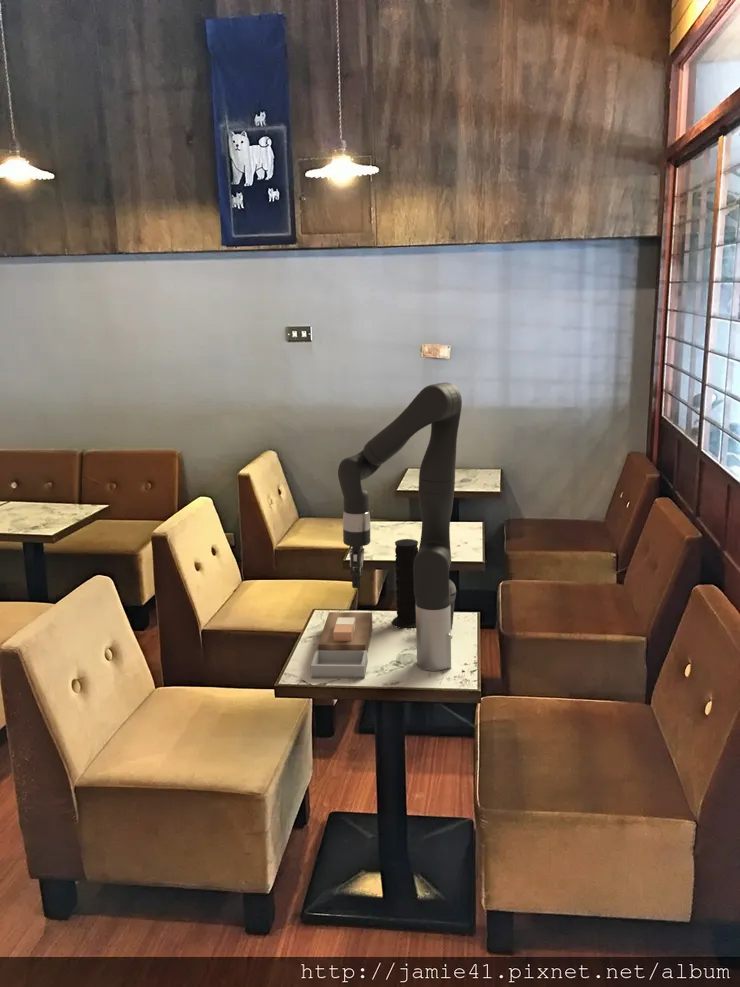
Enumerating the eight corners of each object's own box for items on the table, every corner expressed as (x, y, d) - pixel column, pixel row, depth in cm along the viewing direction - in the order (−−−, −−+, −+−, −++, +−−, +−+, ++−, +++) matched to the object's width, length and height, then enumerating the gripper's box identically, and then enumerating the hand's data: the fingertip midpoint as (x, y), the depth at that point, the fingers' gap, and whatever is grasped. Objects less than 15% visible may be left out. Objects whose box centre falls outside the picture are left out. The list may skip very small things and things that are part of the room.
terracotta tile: (353, 633, 229) (353, 625, 229) (351, 640, 225) (351, 632, 224) (335, 633, 230) (335, 625, 229) (333, 640, 225) (333, 632, 224)
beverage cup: (429, 632, 241) (428, 567, 236) (435, 622, 248) (434, 559, 243) (454, 634, 239) (453, 569, 234) (458, 624, 246) (458, 561, 241)
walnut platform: (372, 628, 245) (372, 612, 244) (365, 661, 223) (365, 644, 222) (329, 627, 246) (329, 612, 245) (318, 661, 224) (317, 644, 223)
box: (367, 662, 223) (367, 650, 222) (364, 678, 213) (364, 666, 212) (316, 661, 224) (316, 650, 223) (311, 677, 215) (310, 665, 214)
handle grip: (409, 613, 256) (385, 622, 249) (407, 532, 249) (382, 539, 243) (431, 622, 248) (407, 631, 242) (430, 538, 242) (405, 546, 236)
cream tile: (355, 625, 235) (355, 617, 234) (353, 632, 230) (353, 624, 229) (338, 625, 235) (337, 617, 235) (336, 632, 230) (335, 624, 230)
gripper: (368, 534, 218) (369, 591, 222) (371, 519, 231) (372, 573, 236) (340, 534, 218) (341, 591, 222) (345, 519, 232) (346, 573, 236)
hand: (357, 582), depth 229 cm, fingers open, 8 cm apart
